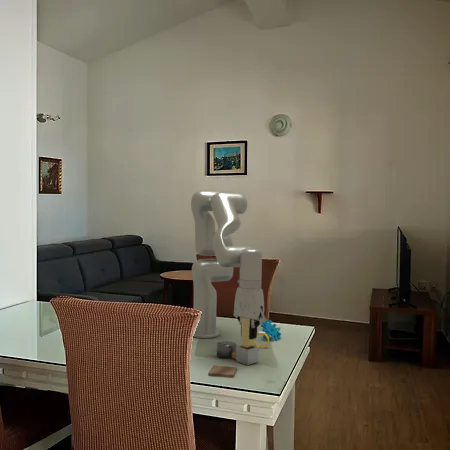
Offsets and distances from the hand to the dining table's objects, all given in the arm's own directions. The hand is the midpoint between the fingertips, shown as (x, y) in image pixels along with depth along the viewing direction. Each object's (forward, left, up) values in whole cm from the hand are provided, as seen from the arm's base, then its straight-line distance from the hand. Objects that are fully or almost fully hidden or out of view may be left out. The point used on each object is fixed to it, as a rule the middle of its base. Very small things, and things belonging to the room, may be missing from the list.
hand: (248, 337), depth 168 cm
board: (-6, -13, -9) cm, 17 cm away
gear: (+5, +33, -9) cm, 34 cm away
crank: (-5, +2, -8) cm, 10 cm away
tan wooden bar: (0, -1, -4) cm, 4 cm away
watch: (+3, +19, -9) cm, 21 cm away
